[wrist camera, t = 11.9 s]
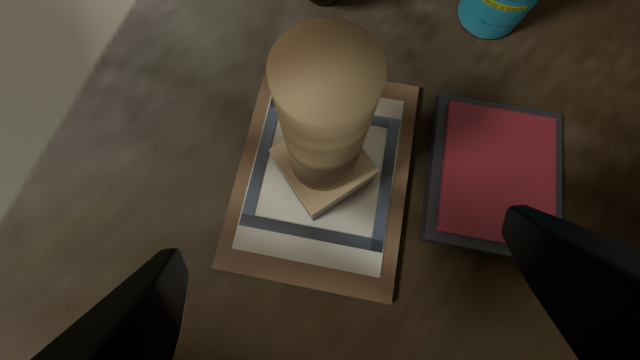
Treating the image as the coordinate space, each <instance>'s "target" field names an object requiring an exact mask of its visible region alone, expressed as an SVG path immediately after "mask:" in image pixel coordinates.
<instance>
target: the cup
mask: <svg viewBox="0 0 640 360" xmlns="http://www.w3.org/2000/svg"><path fill="white" fill-rule="evenodd" d="M310 1H311V2H312V3H314V4H317V5H322V6H325V5H330V4H333V3H335V2H336V1H338V0H310Z"/></svg>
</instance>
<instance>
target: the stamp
mask: <svg viewBox="0 0 640 360" xmlns="http://www.w3.org/2000/svg"><path fill="white" fill-rule="evenodd" d="M266 74H267V81H268V84H269V88H270V91H271V95H272V98H273V102H274V105H275V109H276V112H277V116H278V119H279V123H280V126H281V130H282V133H283V137H284V141H282V142H280V143H279V144H277V145H276V146H274V147H272V148H271V149H269V152H270V155H271V157H272V159H273V161H274V163H275V165H276V166H277V168H278V169H279V171H280V172H281V174H282V175H283V177H284V178H285V180H286V181H287V183H288V184H289V186H290V187H291V189H292V190H293V192H294V193H295V195H296V196H297V198H298V199H299V201H300V202H301V204H302V205H303V207H304V208H305V210H306V211H307V213H308V214H309V216H310V217H311V219H312V220H313V221H314V220H316V219H317V218H319V217H320V216H322V215H323V214H325V213H326V212H328V211H329V210H331V209H332V208H334V207H335V206H337V205H338V204H340V203H341V202H343V201H344V200H346V199H347V198H349V197H350V196H352V195H353V194H355V193H356V192H358V191H359V190H361V189H362V188H364V187H365V186H367V185H368V184H370V183H371V182H372V181H373V180H374V178H375V177H376V175H377V173H378V172H379V169H378V168H377V167H376V165H375V164H374V163H373V161H372V160H371V159H370V157H369V156H368V155H367V153H366V152H365V151H364V149H363V148H362V146H363V143H364V141H365V138H366V135H367V132H368V130H369V127H370V124H371V121H372V119H373V116H374V113H375V110H376V108H377V105H378V102H379V99H380V97H381V94H382V91H383V88H384V85H385V82H386V76H387V64H386V59H385V56H384V53H383V51H382V49H381V47H380V45H379V44H378V42H377V41H376V40H375V38H374V37H373V36H372V35H371V34H370V33H369V32H367V31H366V30H365V29H363V28H362V27H360V26H359V25H357V24H354V23H352V22H350V21H347V20H343V19H339V18H331V17H321V18H314V19H309V20H306V21H303V22H300V23H298V24H296V25H294V26H292V27H291V28H289V29H288V30H287V31H285V32H284V33H283V34H282V35H281V36H280V37H279V38H278V39H277V41H276V42H275V43H274V45H273V47H272V49H271V50H270V53H269V56H268V59H267V65H266Z"/></svg>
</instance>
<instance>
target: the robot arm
mask: <svg viewBox="0 0 640 360" xmlns="http://www.w3.org/2000/svg"><path fill="white" fill-rule="evenodd" d="M501 234H502V237H503V239H504V241H505V243H506V245H507V247H508V249H509V251H510V252H511V254H512V256H513V258H514V260H515V262H516V263H517V265H518V267H519V269H520V271H521V273H522V275H523V276H524V278H525V280H526V282H527V283H528V285H529V287H530V288H531V290H532V291H533V293H534V294H535V296H536V297H537V299H538V300H539V302H540V303H541V305H542V306H543V308H544V309H545V311H546V312H547V314H548V315H549V317H550V318H551V319H552V321H553V322H554V324H555V325H556V327H557V328H558V330H559V331H560V333H561V334H562V336H563V337H564V339H565V340H566V341H567V343H568V344H569V346H570V347H571V349H572V350H573V352H574V353H575V355H576V356H577V358H578V359H579V360H640V249H637V248H635V247H632V246H630V245H627V244H625V243H622V242H620V241H617V240H614V239H612V238H609V237H607V236H604V235H602V234H599V233H597V232H594V231H591V230H589V229H586V228H584V227H581V226H579V225H576V224H574V223H571V222H568V221H566V220H563V219H561V218H558V217H556V216H553V215H551V214H548V213H545V212H543V211H540V210H538V209H535V208H533V207H530V206H528V205H514V206H510V207H508V208H507V210H506V213H505V217H504V221H503V224H502V228H501ZM187 284H188V269H187V267H186V264H185V262H184V259H183V257H182V255H181V252H180V250H179V249H177V248H170V249H163V250H160V251H159V252H158V253H157V254H155V255H154V256H153V257H152V258H151V259H150V260H148V261H147V262H146V263H145V264H144V265H142V266H141V267H140V268H139V269H138V270H136V271H135V272H134V273H133V274H132V275H130V276H129V277H128V278H127V279H126V280H124V281H123V282H122V283H121V284H120V285H119V286H117V287H116V288H115V289H114V290H113V291H111V292H110V293H109V294H108V295H107V296H105V297H104V298H103V299H102V300H101V301H99V302H98V303H97V304H96V305H95V306H94V307H92V308H91V309H90V310H89V311H88V312H86V313H85V314H84V315H83V316H82V317H80V318H79V319H78V320H77V321H76V322H74V323H73V324H72V325H71V326H70V327H69V328H67V329H66V330H65V331H64V332H63V333H61V334H60V335H59V336H58V337H57V338H55V339H54V340H53V341H52V342H51V343H49V344H48V345H47V346H46V347H45V348H43V349H42V350H41V351H40V352H39V353H38V354H36V355H35V356H34V357H33V358H32V359H30V360H173V356H174V352H175V349H176V345H177V341H178V337H179V333H180V328H181V322H182V316H183V310H184V303H185V297H186V290H187Z"/></svg>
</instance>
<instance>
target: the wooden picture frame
mask: <svg viewBox="0 0 640 360" xmlns="http://www.w3.org/2000/svg"><path fill="white" fill-rule="evenodd" d="M266 65H267V64H266ZM418 93H419V87H417V86H411V85H405V84H399V83H393V82H387V81H386V82H385V85H384V88H383V91H382V94H381V97H380V99H379V102H378V105H377V108H376V110H375V113H374V116H373V119H372V121H371V124H370V127H369V130H368V132H367V135H366V138H365V141H364V143H363V146H362V148H363V149H364V151H365V152H366V153H367V155H368V156H369V157H370V159H371V160H372V161H373V163H374V164H375V165H376V167H377V168H378V169H379V172H378V173H377V175H376V177H375V178H374V180H373V181H372V182H371V183H370V184H368V185H367V186H365V187H364V188H362V189H361V190H359V191H358V192H356V193H355V194H353V195H352V196H350V197H349V198H347V199H346V200H344V201H343V202H341V203H340V204H338V205H337V206H335V207H334V208H332V209H331V210H329V211H328V212H326V213H325V214H323V215H322V216H320V217H319V218H317V219H316V220H314V221H313V220H312V219H311V217H310V216H309V214H308V213H307V211H306V210H305V208H304V207H303V205H302V204H301V202H300V201H299V199H298V198H297V196H296V195H295V193H294V192H293V190H292V189H291V187H290V186H289V184H288V183H287V181H286V180H285V178H284V177H283V175H282V174H281V172H280V171H279V169H278V168H277V166H276V165H275V163H274V161H273V159H272V157H271V155H270V152H269V149H271V148H272V147H274V146H276V145H277V144H279V143H280V142H282V141H284V137H283V133H282V130H281V126H280V123H279V119H278V116H277V112H276V109H275V105H274V102H273V98H272V95H271V91H270V88H269V84H268V81H267V74H266V68H265V72H264V75H263V79H262V83H261V86H260V90H259V94H258V98H257V101H256V105H255V109H254V112H253V116H252V120H251V124H250V127H249V131H248V135H247V138H246V142H245V146H244V150H243V153H242V157H241V161H240V164H239V168H238V172H237V175H236V179H235V183H234V187H233V190H232V194H231V198H230V201H229V205H228V209H227V213H226V216H225V220H224V224H223V227H222V231H221V235H220V239H219V242H218V246H217V250H216V253H215V257H214V261H213V265H212V268H213V269H218V270H223V271H228V272H233V273H238V274H242V275H247V276H252V277H257V278H262V279H267V280H272V281H277V282H282V283H287V284H292V285H297V286H302V287H306V288H311V289H316V290H321V291H326V292H331V293H336V294H341V295H346V296H351V297H356V298H361V299H365V300H370V301H375V302H380V303H385V304H390V305H392V298H393V290H394V282H395V274H396V266H397V258H398V251H399V243H400V235H401V227H402V219H403V211H404V203H405V195H406V187H407V180H408V172H409V164H410V156H411V148H412V140H413V132H414V124H415V116H416V109H417V101H418Z"/></svg>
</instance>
